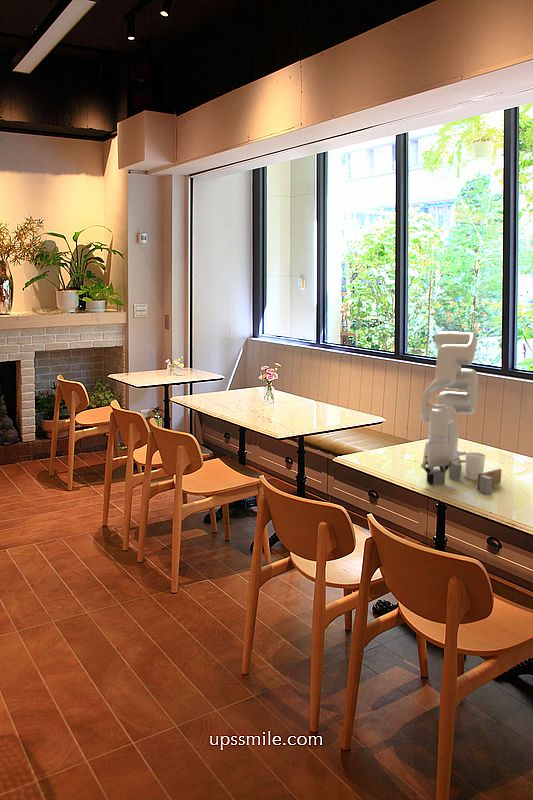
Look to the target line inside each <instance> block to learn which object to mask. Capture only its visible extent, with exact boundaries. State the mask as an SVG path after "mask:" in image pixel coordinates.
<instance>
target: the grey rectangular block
mask: <svg viewBox="0 0 533 800" xmlns="http://www.w3.org/2000/svg"><path fill="white" fill-rule="evenodd" d="M432 474H433V484H432V486H444V485H445V480H446V479H445V478H446V473H445V472H443V471H441V470H440V469H438V468H434V469H433V473H432Z"/></svg>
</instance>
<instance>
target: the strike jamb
mask: <svg viewBox="0 0 533 800" xmlns="http://www.w3.org/2000/svg"><path fill="white" fill-rule="evenodd" d="M448 478H450V479H452V480H454V481H461V479H462V464H461V463H460V462H458V463H456V462H452V465H451V466H450V467H449V468H448Z"/></svg>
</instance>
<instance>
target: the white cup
mask: <svg viewBox="0 0 533 800" xmlns="http://www.w3.org/2000/svg"><path fill="white" fill-rule="evenodd" d="M485 460H486V454H484V453H482V452H475V451H474V452H472V451H470V452H466V455H465V478H466V479H468V480H472V481H478V474H479V473H484V469H485V462H486V461H485Z"/></svg>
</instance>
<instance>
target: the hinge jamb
mask: <svg viewBox="0 0 533 800" xmlns="http://www.w3.org/2000/svg"><path fill="white" fill-rule="evenodd" d="M492 488H493V486H492V478H491V477H488V476H486V475H481V476H480V482H479V490H478V492H479V493H482V494H483V495H486V496H487V495H489V496H490V495H492Z"/></svg>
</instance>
